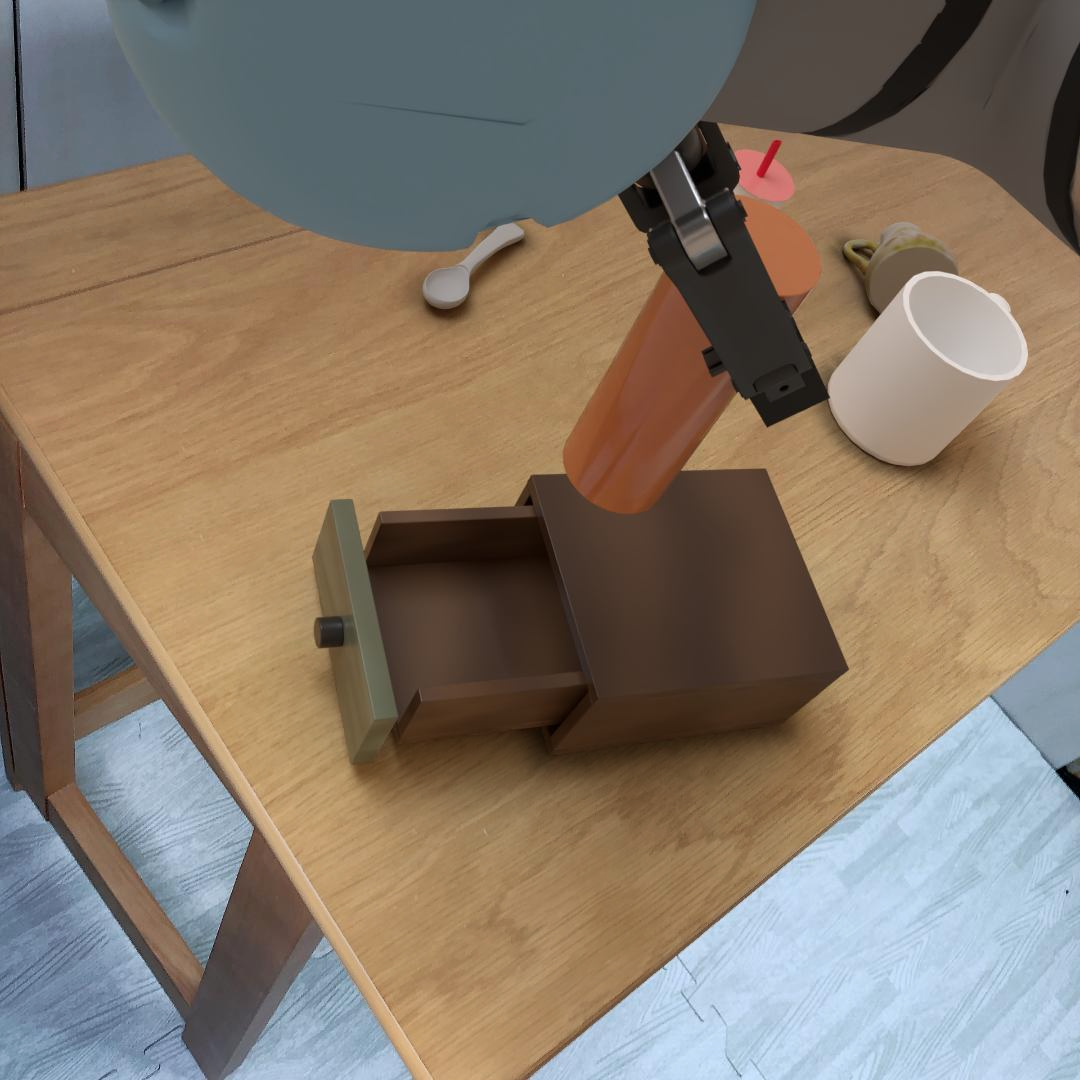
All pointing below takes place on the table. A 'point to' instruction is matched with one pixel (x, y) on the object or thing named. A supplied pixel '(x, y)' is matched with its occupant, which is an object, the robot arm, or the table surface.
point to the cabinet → (684, 610)
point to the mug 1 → (898, 260)
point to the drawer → (442, 625)
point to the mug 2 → (926, 368)
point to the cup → (764, 176)
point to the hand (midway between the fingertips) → (769, 349)
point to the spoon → (466, 269)
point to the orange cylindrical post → (672, 380)
